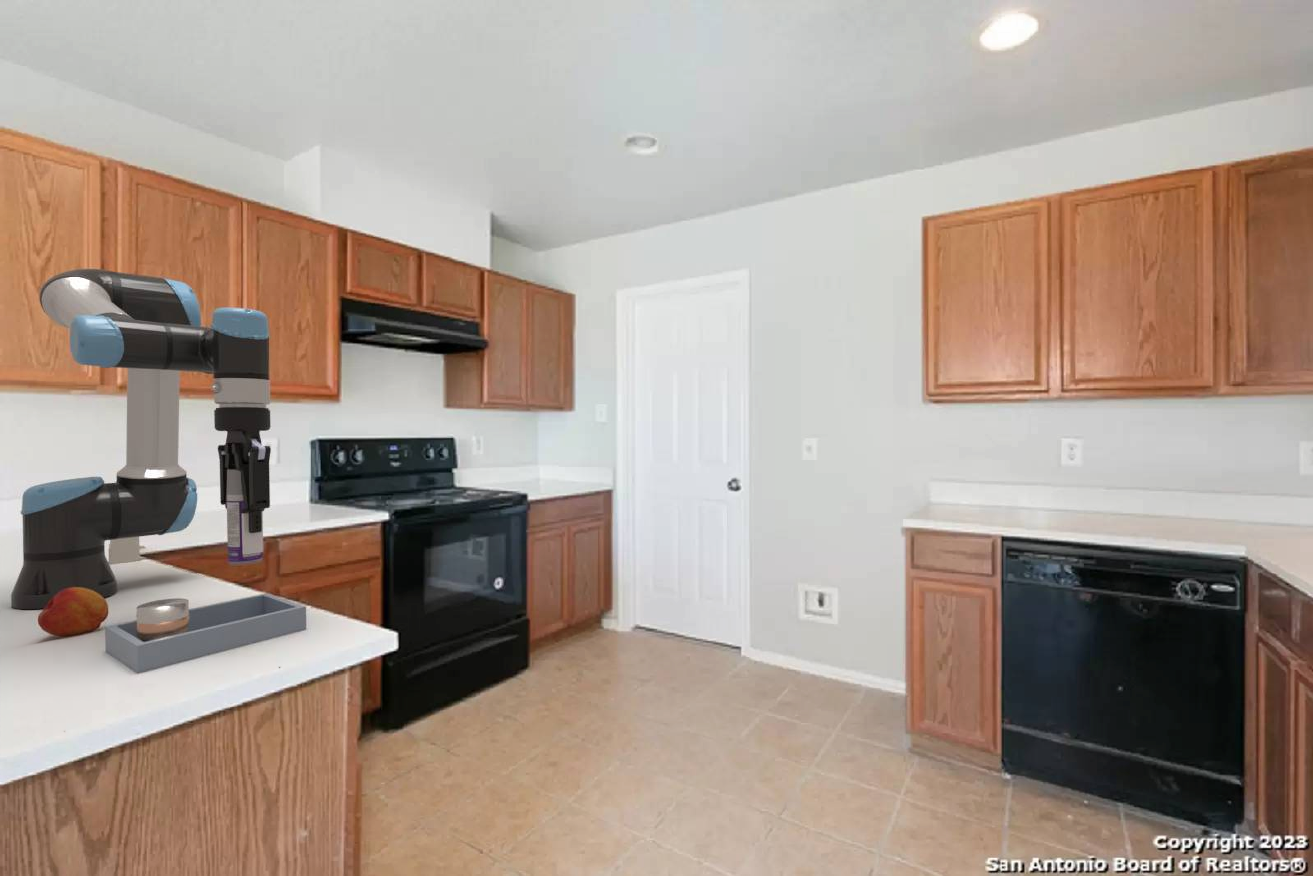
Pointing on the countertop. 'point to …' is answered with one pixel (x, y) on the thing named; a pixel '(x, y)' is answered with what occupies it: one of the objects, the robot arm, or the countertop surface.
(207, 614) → the tray
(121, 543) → the architectural model
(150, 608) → the tin
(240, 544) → the container
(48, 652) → the countertop surface
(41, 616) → the fruit
